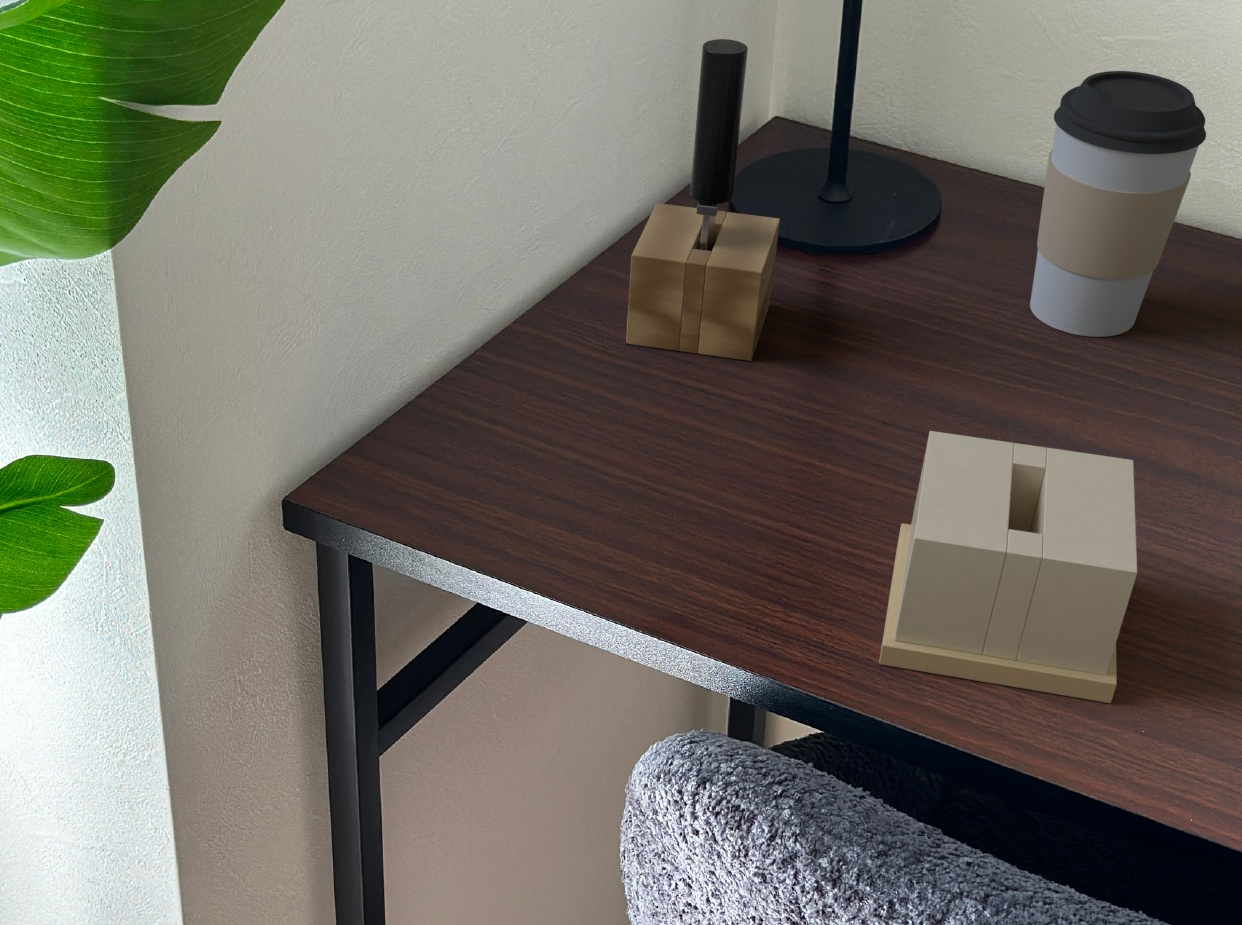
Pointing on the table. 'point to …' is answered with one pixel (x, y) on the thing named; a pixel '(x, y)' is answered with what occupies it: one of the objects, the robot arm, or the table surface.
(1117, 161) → the coffee cup
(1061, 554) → the slotted block on base
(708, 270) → the knife block
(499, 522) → the table surface
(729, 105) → the knife
